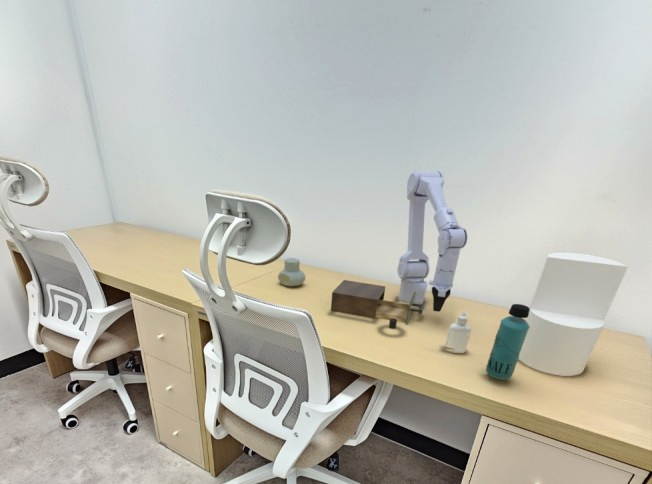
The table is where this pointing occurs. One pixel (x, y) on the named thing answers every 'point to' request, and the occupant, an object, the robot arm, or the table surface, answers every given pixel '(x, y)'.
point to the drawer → (397, 309)
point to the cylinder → (569, 311)
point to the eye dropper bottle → (458, 335)
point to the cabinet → (357, 298)
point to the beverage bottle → (508, 343)
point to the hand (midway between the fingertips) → (436, 310)
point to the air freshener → (291, 273)
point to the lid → (392, 323)
